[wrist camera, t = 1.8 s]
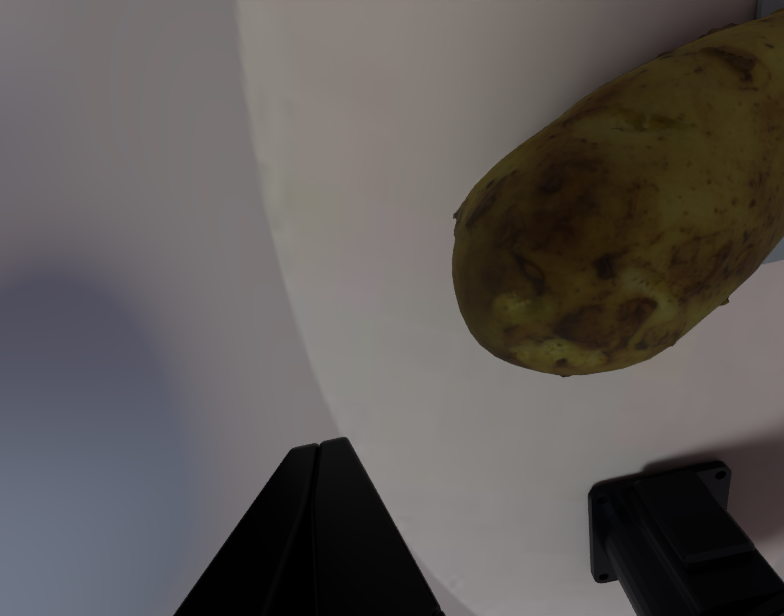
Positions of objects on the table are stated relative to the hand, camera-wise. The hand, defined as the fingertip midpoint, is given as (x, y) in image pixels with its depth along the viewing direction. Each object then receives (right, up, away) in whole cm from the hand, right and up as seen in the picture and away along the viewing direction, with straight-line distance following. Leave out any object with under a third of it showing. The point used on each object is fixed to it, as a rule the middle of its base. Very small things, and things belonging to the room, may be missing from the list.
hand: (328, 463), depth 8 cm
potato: (+8, +7, +10) cm, 15 cm away
